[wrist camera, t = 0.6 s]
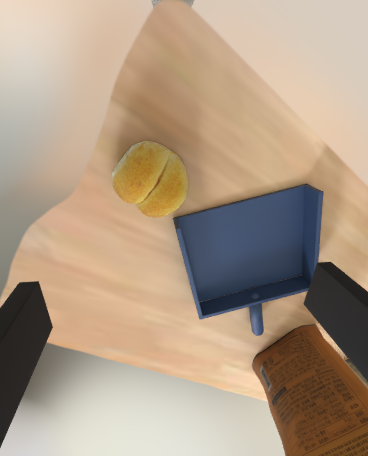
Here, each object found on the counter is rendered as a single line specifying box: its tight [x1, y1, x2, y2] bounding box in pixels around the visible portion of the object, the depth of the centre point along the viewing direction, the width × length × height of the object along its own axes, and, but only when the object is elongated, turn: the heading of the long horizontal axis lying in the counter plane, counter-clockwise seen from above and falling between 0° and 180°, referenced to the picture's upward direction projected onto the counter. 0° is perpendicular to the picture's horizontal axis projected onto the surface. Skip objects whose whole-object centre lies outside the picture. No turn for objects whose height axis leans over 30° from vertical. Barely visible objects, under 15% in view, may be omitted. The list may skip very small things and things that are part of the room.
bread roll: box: [112, 141, 189, 217], centre depth 28 cm, size 8×9×4 cm
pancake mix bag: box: [253, 325, 368, 456], centre depth 36 cm, size 7×19×28 cm, turn 134°
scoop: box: [173, 184, 323, 336], centre depth 37 cm, size 26×19×4 cm
